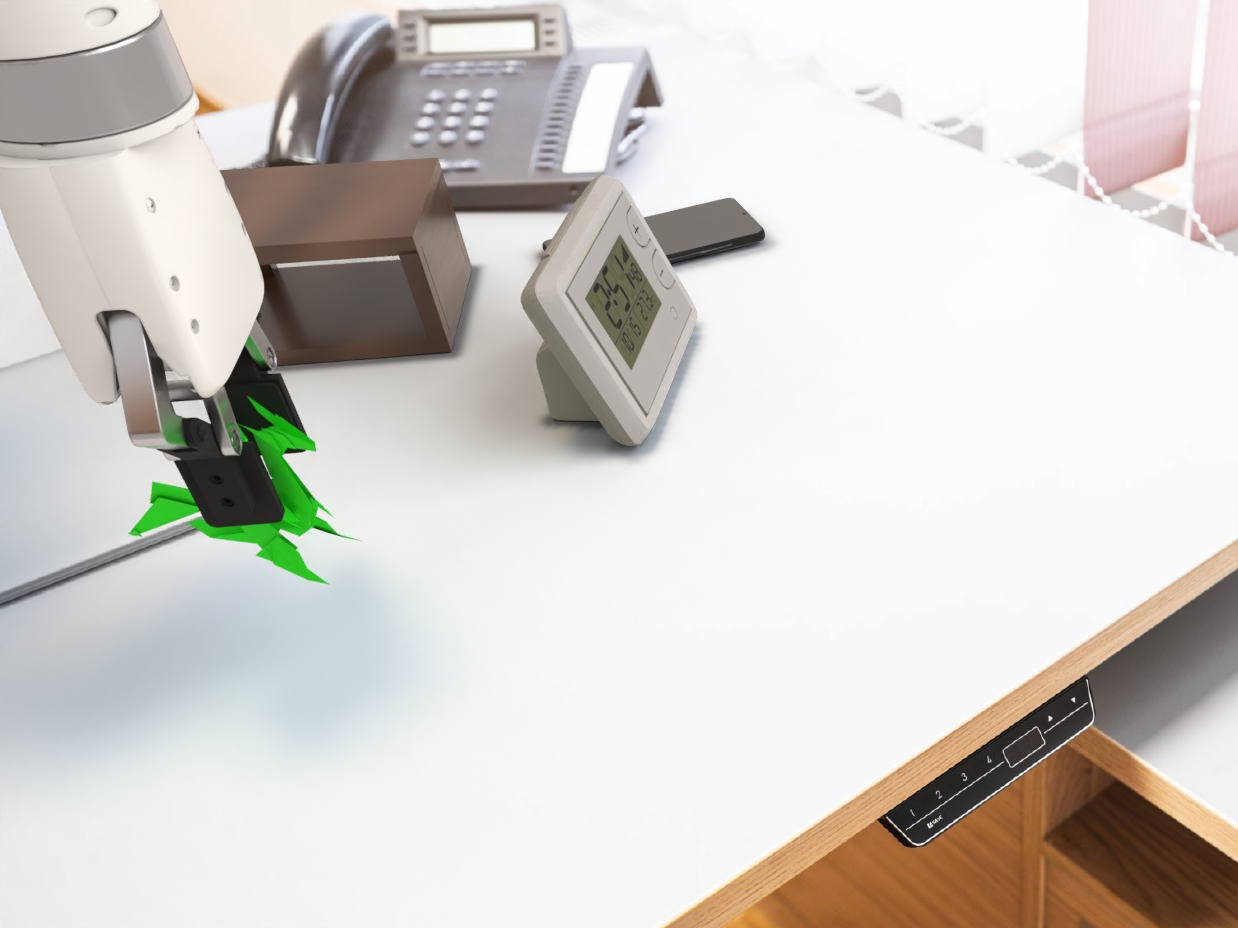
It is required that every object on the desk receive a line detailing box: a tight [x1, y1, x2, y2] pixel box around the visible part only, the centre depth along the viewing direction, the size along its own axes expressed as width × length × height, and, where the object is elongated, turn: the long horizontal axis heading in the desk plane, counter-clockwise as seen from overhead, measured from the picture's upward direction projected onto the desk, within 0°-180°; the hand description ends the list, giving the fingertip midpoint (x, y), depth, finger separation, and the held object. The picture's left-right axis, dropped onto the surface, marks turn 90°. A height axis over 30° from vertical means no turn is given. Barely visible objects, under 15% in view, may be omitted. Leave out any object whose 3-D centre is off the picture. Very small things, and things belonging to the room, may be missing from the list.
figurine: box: [127, 396, 362, 585], centre depth 61 cm, size 6×12×9 cm, turn 75°
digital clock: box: [520, 174, 698, 447], centre depth 81 cm, size 16×9×11 cm, turn 168°
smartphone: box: [542, 197, 766, 264], centre depth 98 cm, size 7×1×15 cm
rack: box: [219, 157, 473, 366], centre depth 88 cm, size 14×12×8 cm
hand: (260, 482), depth 61 cm, fingers closed on figurine, 4 cm apart
